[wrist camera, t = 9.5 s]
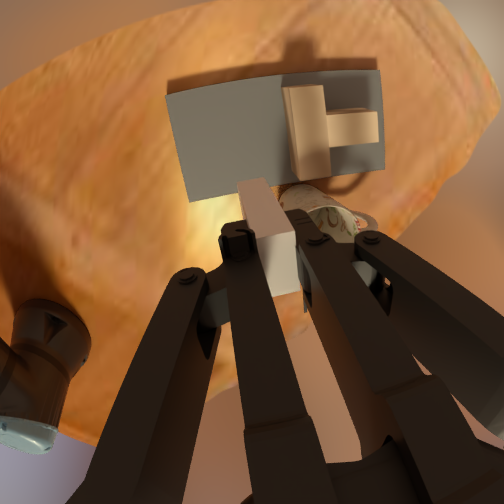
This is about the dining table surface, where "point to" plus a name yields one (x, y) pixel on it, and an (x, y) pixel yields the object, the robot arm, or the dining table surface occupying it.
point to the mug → (326, 212)
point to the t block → (321, 129)
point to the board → (263, 129)
